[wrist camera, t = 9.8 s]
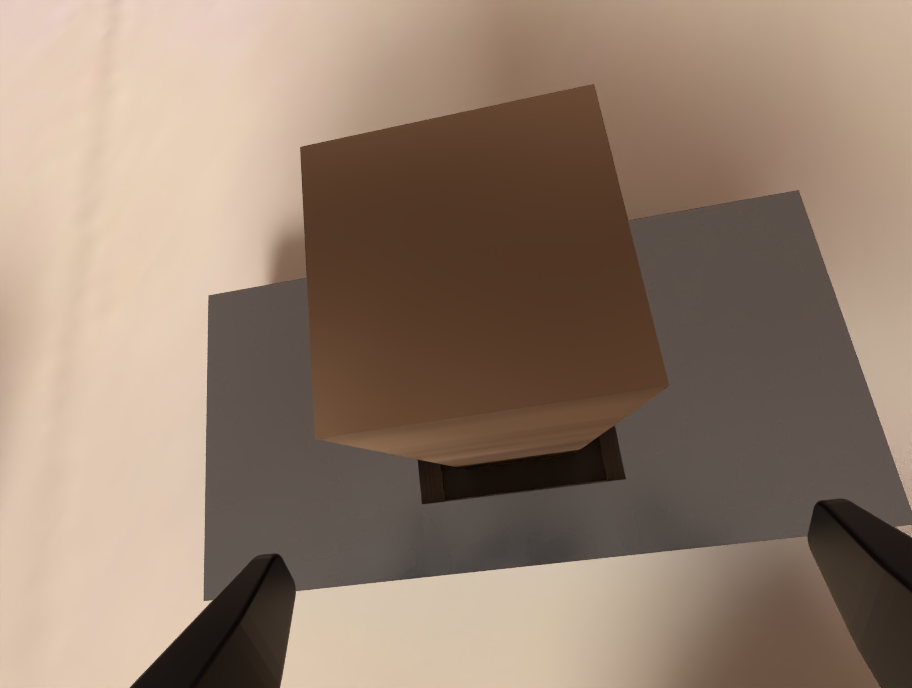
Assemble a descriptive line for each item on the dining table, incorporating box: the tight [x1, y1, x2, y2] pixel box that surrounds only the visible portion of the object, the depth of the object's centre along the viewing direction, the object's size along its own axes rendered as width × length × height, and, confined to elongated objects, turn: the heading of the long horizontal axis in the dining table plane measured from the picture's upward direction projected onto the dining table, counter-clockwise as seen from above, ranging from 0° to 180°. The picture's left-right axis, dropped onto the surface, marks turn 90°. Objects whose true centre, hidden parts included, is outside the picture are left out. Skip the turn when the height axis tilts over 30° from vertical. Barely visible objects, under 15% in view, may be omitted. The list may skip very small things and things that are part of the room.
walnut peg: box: [300, 84, 669, 469], centre depth 13 cm, size 4×4×14 cm
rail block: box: [204, 190, 912, 601], centre depth 18 cm, size 10×20×4 cm, turn 97°
